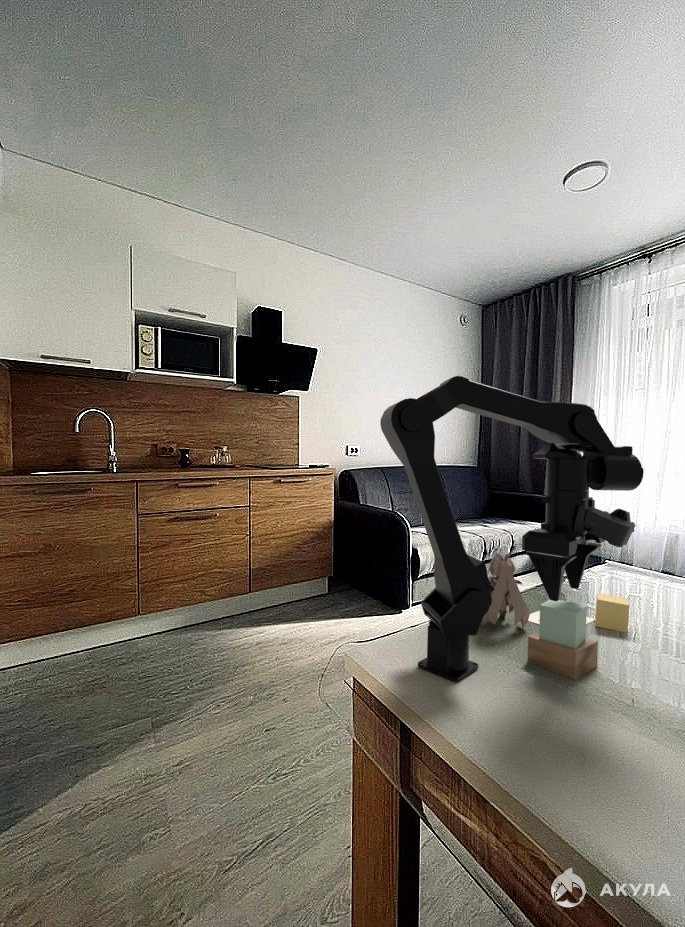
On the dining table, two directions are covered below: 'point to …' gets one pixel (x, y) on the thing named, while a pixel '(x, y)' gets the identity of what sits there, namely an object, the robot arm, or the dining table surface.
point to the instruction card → (536, 618)
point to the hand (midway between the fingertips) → (564, 594)
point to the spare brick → (612, 612)
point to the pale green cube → (563, 623)
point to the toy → (505, 591)
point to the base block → (563, 656)
